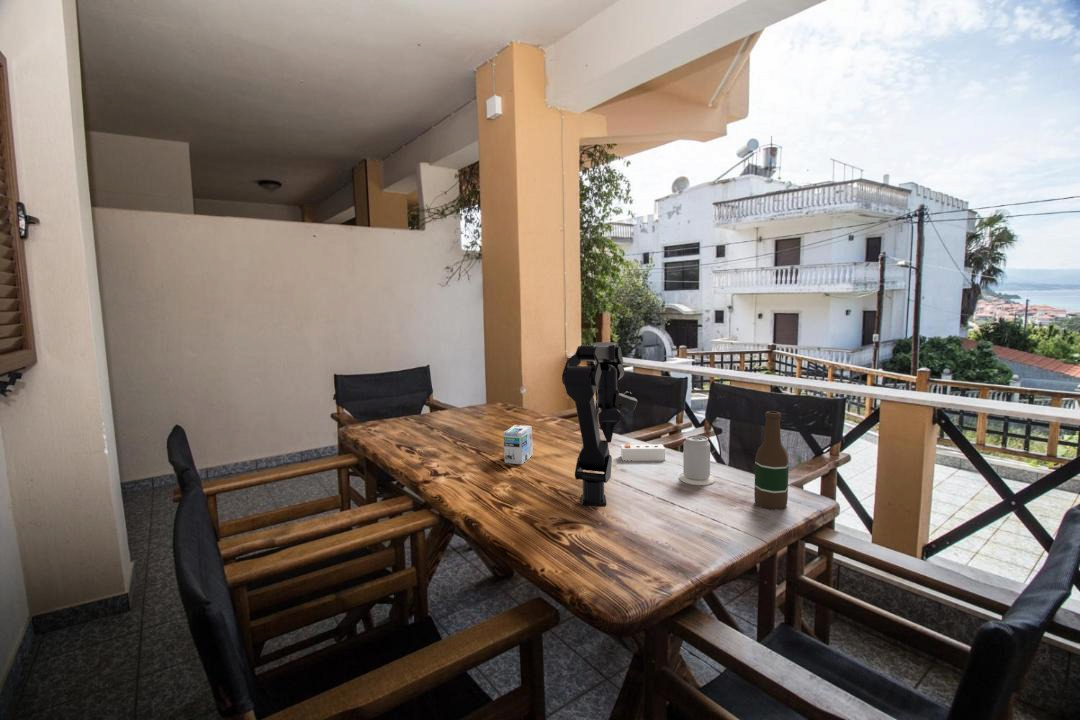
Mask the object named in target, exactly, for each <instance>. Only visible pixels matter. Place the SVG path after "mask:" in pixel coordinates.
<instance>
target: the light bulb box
mask: <svg viewBox="0 0 1080 720" xmlns="http://www.w3.org/2000/svg"><path fill="white" fill-rule="evenodd" d="M533 450H534V449H533V427H532V425H522V424H521V425H520V424H514V425H512V426H511V427H510V428H508V429H506V430H505V431H503V452H504V453H503V455H504V463H505V464H512V465H514V464H516V465H523V464H524V462H525V463H526V462H527V461H529V459H531V458H532V457H533V456H534V454H533V452H534V451H533ZM532 455H533V456H532ZM531 456H532V457H531ZM530 457H531V458H530Z"/></svg>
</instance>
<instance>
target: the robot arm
mask: <svg viewBox="0 0 1080 720" xmlns="http://www.w3.org/2000/svg"><path fill="white" fill-rule="evenodd" d="M588 361H589V362H594V363H595V367H594V366H589V365H588V366H587V365H586V366H580V364H581V362H588ZM623 364H624V358H623V354H622V348H621V346H619V343H618V342H616V341H615V342H611V341H609V342H603V341H602V342H599V341H598V342H595V343H594V344H580V345H578V346H577V348H576V352H575V353H574V354H573V355H572V356H571V357H569V358H568V360H566V363H565V365H564V368H563V371H562V375H561V376H562V377H561V382H562V384H563V385H564V388H565V389H564V390H565V392H566V395H567V396H568V397H569V398H571V400H572V401H574V403H575V410H576V413H577V414H576V415H577V419H578V425H579V430H580V435H581V441H582V446H581V449H580V452H579V454H578V457H577V460H576V464H575V465H576V466H575V470H574V477H575V478H574V479H575V480H579V481H581V482H582V494H581V496H580V498H581V499H580V500H581V502H580V503H581V505H582V506H607V505H608V504H607V498H606V494H605V484H607V483H608V482H609V480H610V479H611V477H612V476H611V475H612V462H613V461H612V459H613V458H612V454H610V449H609V443H611V442H612V439H613V436H614V431H615V427H616V425H618V424H620V422H621V421H622V413H621V410H619V409H620V407H622V408H625V409H627V410H629V411H631V412H634V411H635V409H636V407H637V404H638V402H639V401H638V399H637V398H636V397H633V395H632V392H631V391H627V390H626V391H625V392H623V393H620V390H619V388H618V381H619V380H621V379H622V378H623V377H624V375H625V368H624V366H623ZM596 392H597V395H596V396H597V398H596V400H595V398H594V396H595V394H596ZM599 426H600V428H599ZM600 429H601V431H602V432H603V433H602V434H603V436H604V438H605V439H601V434H600ZM588 471H589V472H588ZM597 472H598V473H597Z"/></svg>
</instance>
